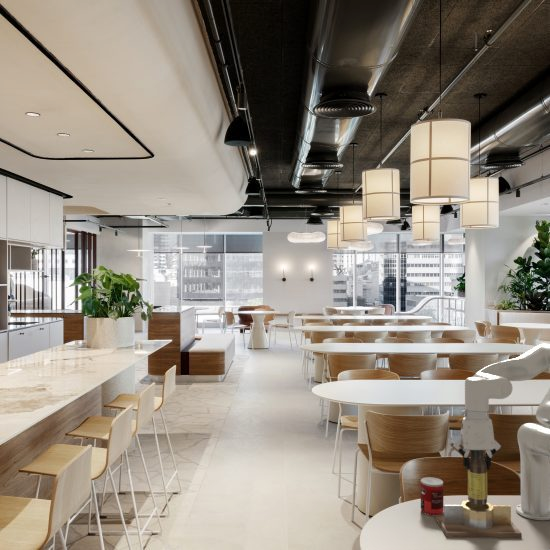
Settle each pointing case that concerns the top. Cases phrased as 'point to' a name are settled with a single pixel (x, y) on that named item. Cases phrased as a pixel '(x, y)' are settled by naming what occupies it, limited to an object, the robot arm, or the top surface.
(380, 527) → the top surface
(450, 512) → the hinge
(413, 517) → the top surface
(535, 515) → the robot arm
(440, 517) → the walnut board
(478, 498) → the sauce bottle
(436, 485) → the canned food
